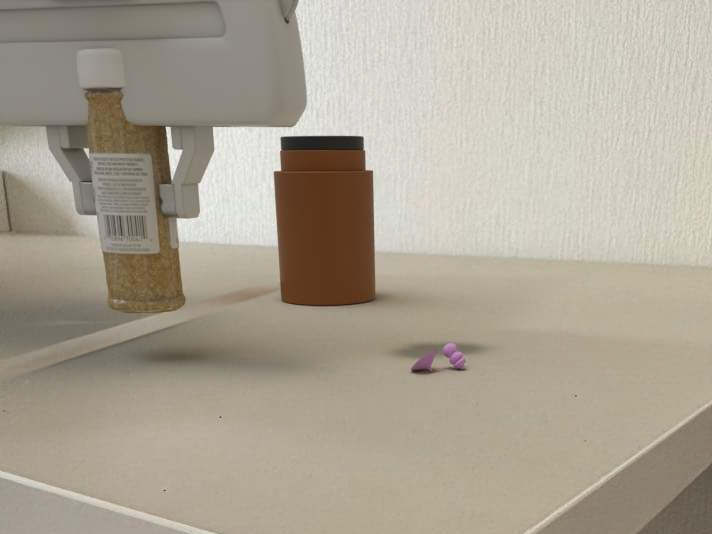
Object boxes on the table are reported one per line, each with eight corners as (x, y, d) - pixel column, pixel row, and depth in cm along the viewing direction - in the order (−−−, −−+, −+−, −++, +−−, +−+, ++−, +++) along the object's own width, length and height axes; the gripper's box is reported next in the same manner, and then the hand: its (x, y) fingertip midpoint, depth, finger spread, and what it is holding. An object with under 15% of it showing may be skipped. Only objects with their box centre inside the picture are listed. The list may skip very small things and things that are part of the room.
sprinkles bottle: (201, 305, 53) (179, 53, 48) (153, 317, 49) (123, 44, 44) (140, 300, 55) (112, 56, 49) (89, 311, 51) (53, 47, 46)
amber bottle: (265, 303, 72) (254, 136, 67) (303, 290, 79) (295, 138, 74) (356, 307, 70) (352, 135, 65) (387, 293, 77) (385, 136, 72)
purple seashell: (424, 397, 50) (432, 385, 48) (407, 374, 50) (415, 361, 48) (464, 370, 51) (473, 357, 49) (447, 348, 51) (456, 334, 49)
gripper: (321, -72, 44) (328, 218, 50) (-15, -52, 50) (26, 208, 55) (267, -104, 39) (282, 226, 45) (-104, -78, 44) (-49, 214, 50)
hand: (137, 216), depth 50 cm, fingers closed on sprinkles bottle, 4 cm apart
